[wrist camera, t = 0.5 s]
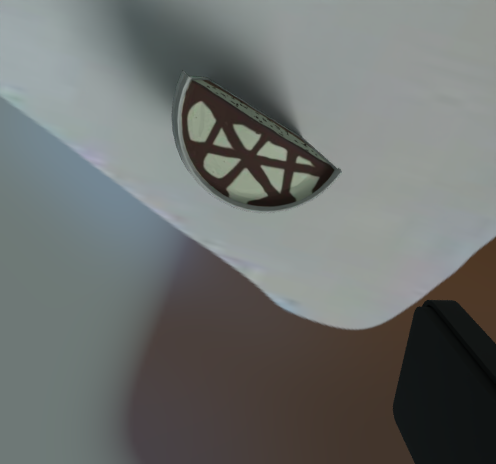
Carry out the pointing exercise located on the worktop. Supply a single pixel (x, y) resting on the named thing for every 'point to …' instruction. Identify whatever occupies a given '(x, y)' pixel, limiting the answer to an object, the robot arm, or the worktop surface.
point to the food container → (244, 151)
